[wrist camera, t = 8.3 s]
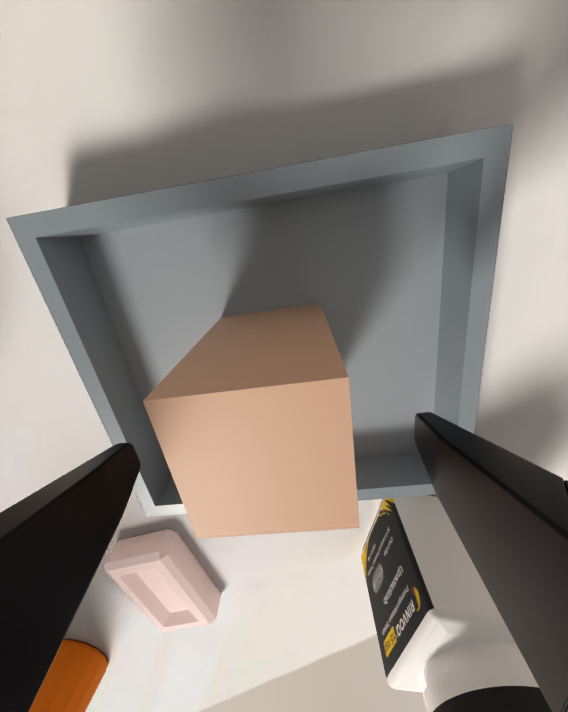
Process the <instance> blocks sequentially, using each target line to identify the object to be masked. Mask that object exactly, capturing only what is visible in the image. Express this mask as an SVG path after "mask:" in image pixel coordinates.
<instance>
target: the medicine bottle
mask: <svg viewBox="0 0 568 712" xmlns="http://www.w3.org/2000/svg"><path fill="white" fill-rule="evenodd" d="M361 558H362V563H363V568H364V573H365V578H366V582H367V587H368V592H369V597H370V602H371V607H372V611H373V616H374V621H375V626H376V631H377V636H378V640H379V644H380V650H381V655H382V660H383V664H384V669H385V674H386V679H387V682H388V684H389V685H390V686H391V687H392V688H393V689H398V690H407V691H414V692H422V693H423V698H424V703H425V706H426V710H427V712H552V710H551V708H550V707H549V705H548V703H547V701H546V699H545V697H544V695H543V693H542V692H541V690H540V688H539V686H538V684H537V682H536V680H535V678H534V677H533V675H532V673H531V671H530V669H529V667H528V665H527V663H526V662H525V660H524V658H523V656H522V654H521V652H520V650H519V648H518V647H517V645H516V643H515V641H514V639H513V637H512V635H511V633H510V632H509V630H508V628H507V626H506V624H505V622H504V620H503V618H502V617H501V615H500V613H499V611H498V609H497V607H496V605H495V603H494V602H493V600H492V598H491V596H490V594H489V592H488V590H487V588H486V587H485V585H484V583H483V581H482V579H481V577H480V575H479V573H478V572H477V570H476V568H475V566H474V564H473V562H472V560H471V558H470V557H469V555H468V553H467V551H466V549H465V547H464V545H463V544H462V542H461V540H460V538H459V536H458V534H457V532H456V530H455V529H454V527H453V525H452V523H451V521H450V519H449V517H448V515H447V514H446V512H445V510H444V508H443V506H442V504H441V502H440V500H439V498H438V497H436V496H429V495H425V496H412V497H398V498H385V499H384V500H383V502H382V505H381V507H380V510H379V512H378V515H377V517H376V519H375V522H374V524H373V527H372V529H371V532H370V534H369V537H368V539H367V542H366V544H365V547H364V549H363V551H362V555H361Z"/></svg>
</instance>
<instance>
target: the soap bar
mask: <svg viewBox="0 0 568 712" xmlns="http://www.w3.org/2000/svg"><path fill="white" fill-rule="evenodd" d="M104 569H105V571H106V572H107V573H108V574H109V575H110V576H111V577H112V579H113V580H114V581H115V582H116V583H117V584H118V585H119V586H120V587H121V588H122V590H123V591H124V592H125V593H126V594H127V595H128V596H129V597H130V598H131V599H132V601H133V602H134V603H135V604H136V605H137V606H138V607H139V608H140V609H141V611H142V612H143V613H144V614H145V615H146V616H147V617H148V618H149V619H150V620H151V622H152V623H153V624H154V625H155V626H156V627H157V628H158V629H159V630H160V631H161V632H165V631H171V630H177V629H183V628H189V627H195V626H201V625H207V624H211V623H213V622H214V621H215V619H216V616H217V611H218V606H219V602H220V597H221V593H220V592H219V590H218V589H217V588H216V586H215V585H214V583H213V582H212V581H211V579H210V578H209V576H208V575H207V574H206V572H205V571H204V569H203V568H202V567H201V565H200V564H199V562H198V561H197V560H196V558H195V557H194V555H193V554H192V553H191V551H190V550H189V548H188V547H187V546H186V544H185V543H184V541H183V540H182V539H181V537H180V536H179V534H178V533H177V532H176V531H173V530H170V529H166V530H162V531H157V532H153V533H149V534H144V535H140V536H135V537H131V538H127V539H122V540H118V542H117V544H116V546H115V547H114V549H113V551H112V552H111V554H110V556H109V558H108V559H107V561H106V563H105V565H104Z"/></svg>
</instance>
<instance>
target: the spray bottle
mask: <svg viewBox="0 0 568 712" xmlns="http://www.w3.org/2000/svg"><path fill="white" fill-rule="evenodd" d="M107 664H108V663H107V660H106V658H105V656H104V655H103V654H102V653H101V652H100V651H99V650H97V649H96V648H94V647H92V646H90V645H88V644H85V643H82V642H78V641H74V640H63V641H62V644H61V646H60V648H59V650H58V652H57V654H56V656H55V658H54V660H53V662H52V664H51V667H50V669H49V671H48V673H47V675H46V677H45V679H44V681H43V683H42V685H41V687H40V690H39V692H38V694H37V696H36V698H35V700H34V702H33V704H32V706H31V708H30V710H29V712H85V711H86V709H87V707H88V705H89V703H90V701H91V699H92V697H93V695H94V693H95V691H96V689H97V687H98V685H99V683H100V681H101V679H102V677H103V675H104V674H105V672H106V668H107Z"/></svg>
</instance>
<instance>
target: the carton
mask: <svg viewBox="0 0 568 712" xmlns="http://www.w3.org/2000/svg"><path fill="white" fill-rule="evenodd" d="M143 403H144V405H145V408H146V410H147V413H148V416H149V418H150V421H151V423H152V426H153V428H154V431H155V433H156V436H157V439H158V441H159V444H160V446H161V449H162V451H163V454H164V456H165V459H166V462H167V464H168V467H169V469H170V472H171V474H172V477H173V479H174V482H175V484H176V487H177V490H178V492H179V495H180V497H181V500H182V502H183V505H184V507H185V510H186V513H187V515H188V518H189V520H190V523H191V525H192V528H193V530H194V533H195V536H196V538H197V539H199V538H214V537H229V536H243V535H258V534H273V533H287V532H302V531H317V530H331V529H346V528H359V514H358V500H357V486H356V472H355V458H354V444H353V430H352V416H351V402H350V388H349V377H348V374H347V371H346V369H345V366H344V364H343V361H342V358H341V356H340V353H339V351H338V348H337V345H336V343H335V340H334V338H333V335H332V332H331V330H330V327H329V325H328V322H327V320H326V317H325V314H324V312H323V309H322V307H321V304H320V303H319V304H312V305H304V306H297V307H290V308H283V309H276V310H269V311H262V312H255V313H248V314H240V315H233V316H226V317H221V318H220V319H219V320H218V321H217V322H216V323H215V324H214V326H213V327H212V328H211V329H210V330H209V331H208V332H207V333H206V334H205V335H204V336H203V337H202V338H201V339H200V341H199V342H198V343H197V344H196V345H195V346H194V347H193V348H192V349H191V350H190V351H189V352H188V353H187V354H186V355H185V357H184V358H183V359H182V360H181V361H180V362H179V363H178V364H177V365H176V366H175V367H174V368H173V369H172V370H171V372H170V373H169V374H168V375H167V376H166V377H165V378H164V379H163V380H162V381H161V382H160V383H159V384H158V385H157V386H156V388H155V389H154V390H153V391H152V392H151V393H150V394H149V395H148V396H147V397H146V398H145V399H144V400H143Z"/></svg>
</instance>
